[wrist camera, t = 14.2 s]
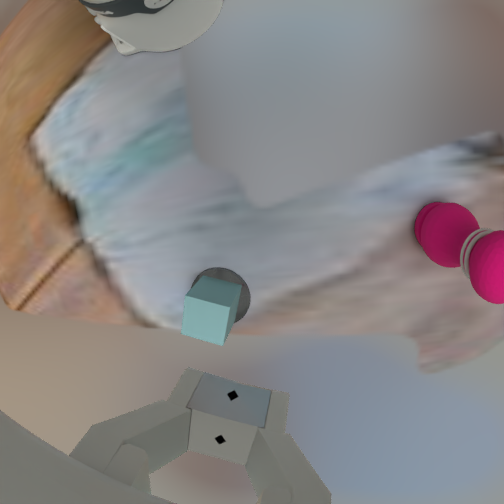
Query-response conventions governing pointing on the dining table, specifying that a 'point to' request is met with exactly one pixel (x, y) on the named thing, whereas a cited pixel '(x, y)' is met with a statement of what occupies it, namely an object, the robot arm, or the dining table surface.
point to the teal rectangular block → (210, 309)
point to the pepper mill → (463, 246)
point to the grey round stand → (234, 278)
